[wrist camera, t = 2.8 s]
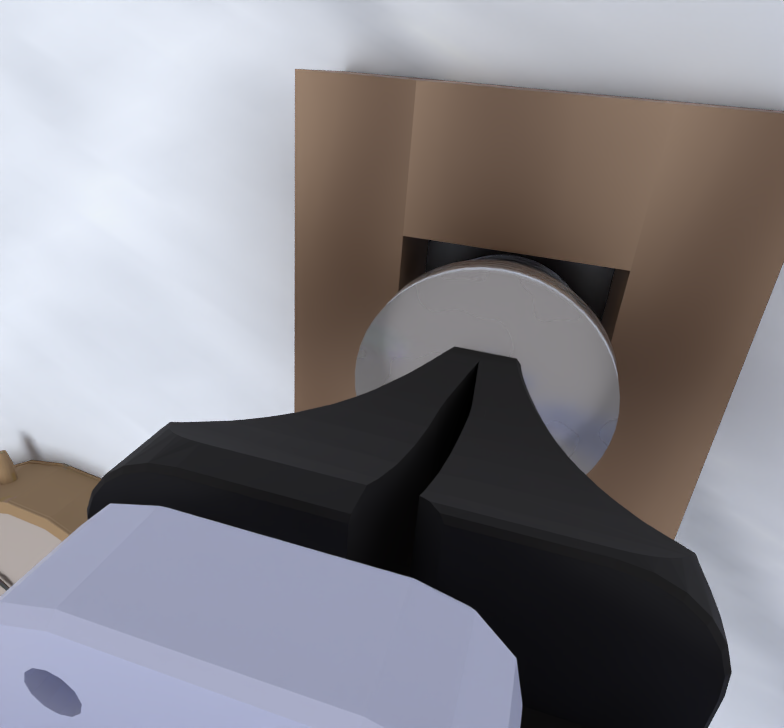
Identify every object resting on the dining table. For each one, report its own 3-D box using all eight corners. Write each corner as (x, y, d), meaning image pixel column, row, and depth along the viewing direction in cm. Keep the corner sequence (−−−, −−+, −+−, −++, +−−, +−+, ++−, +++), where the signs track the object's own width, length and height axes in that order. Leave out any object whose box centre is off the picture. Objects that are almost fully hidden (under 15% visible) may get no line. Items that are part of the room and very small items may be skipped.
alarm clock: (181, 587, 21) (87, 831, 26) (244, 515, 25) (154, 735, 30) (-80, 442, 22) (-121, 706, 27) (27, 398, 26) (-25, 631, 31)
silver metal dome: (638, 247, 13) (654, 297, 10) (584, 443, 15) (584, 532, 12) (410, 214, 14) (361, 250, 11) (393, 401, 16) (349, 473, 13)
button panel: (789, 111, 12) (840, 119, 10) (566, 738, 22) (564, 818, 20) (344, 71, 14) (295, 69, 12) (322, 656, 24) (294, 719, 22)
